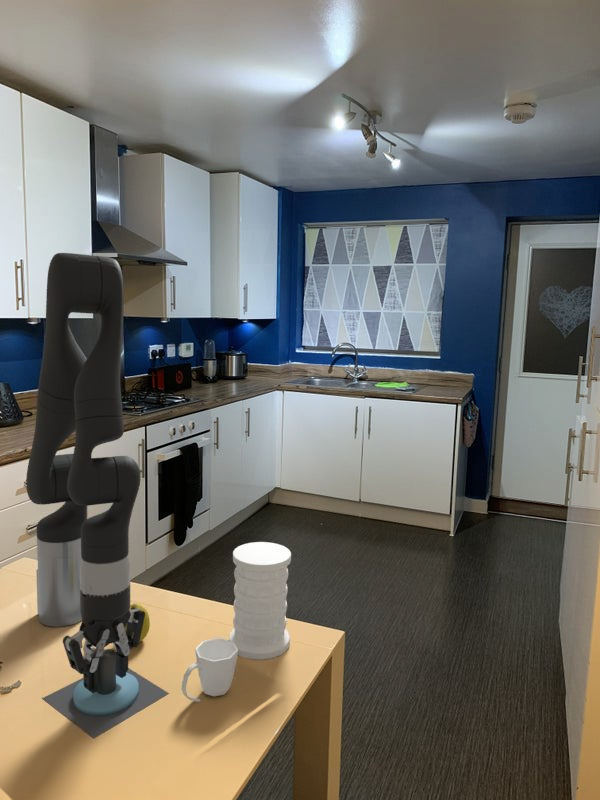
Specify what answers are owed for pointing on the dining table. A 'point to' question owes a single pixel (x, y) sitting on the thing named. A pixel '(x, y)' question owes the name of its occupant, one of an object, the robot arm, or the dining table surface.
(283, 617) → the decorative container
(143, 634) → the lemon
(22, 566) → the dining table surface
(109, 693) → the lid
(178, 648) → the dining table surface
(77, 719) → the mat
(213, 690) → the cup
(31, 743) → the dining table surface
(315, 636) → the dining table surface
